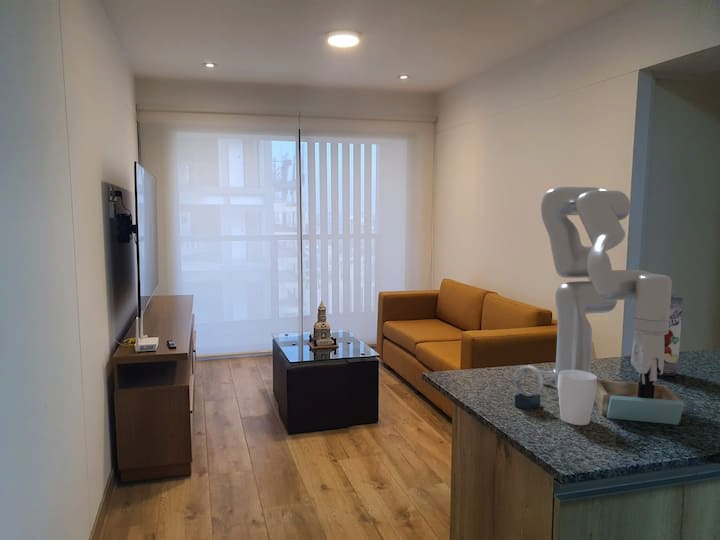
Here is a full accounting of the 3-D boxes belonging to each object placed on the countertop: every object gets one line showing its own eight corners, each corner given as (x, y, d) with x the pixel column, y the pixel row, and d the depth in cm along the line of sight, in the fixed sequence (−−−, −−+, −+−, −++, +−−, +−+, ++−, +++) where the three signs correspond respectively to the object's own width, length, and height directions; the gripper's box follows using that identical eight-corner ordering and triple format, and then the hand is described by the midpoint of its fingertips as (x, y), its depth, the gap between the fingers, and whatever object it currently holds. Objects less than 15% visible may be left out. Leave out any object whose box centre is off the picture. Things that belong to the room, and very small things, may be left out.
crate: (601, 417, 135) (602, 394, 135) (592, 400, 147) (593, 379, 147) (680, 424, 131) (682, 401, 130) (664, 406, 143) (666, 385, 142)
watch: (519, 399, 148) (521, 361, 147) (546, 407, 142) (548, 367, 141) (508, 404, 144) (509, 364, 143) (534, 412, 138) (536, 371, 137)
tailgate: (607, 418, 134) (611, 398, 130) (606, 414, 135) (610, 395, 131) (678, 424, 130) (684, 405, 126) (676, 420, 131) (683, 401, 127)
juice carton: (634, 368, 178) (639, 288, 175) (667, 369, 177) (673, 289, 174) (644, 376, 170) (650, 292, 167) (680, 377, 168) (686, 293, 165)
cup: (591, 431, 126) (594, 382, 125) (552, 423, 131) (554, 376, 130) (597, 419, 134) (600, 373, 133) (559, 412, 139) (562, 367, 137)
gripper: (625, 318, 136) (621, 387, 138) (642, 331, 122) (637, 408, 124) (658, 320, 134) (653, 390, 136) (678, 333, 120) (672, 411, 122)
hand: (645, 398), depth 130 cm, fingers closed
